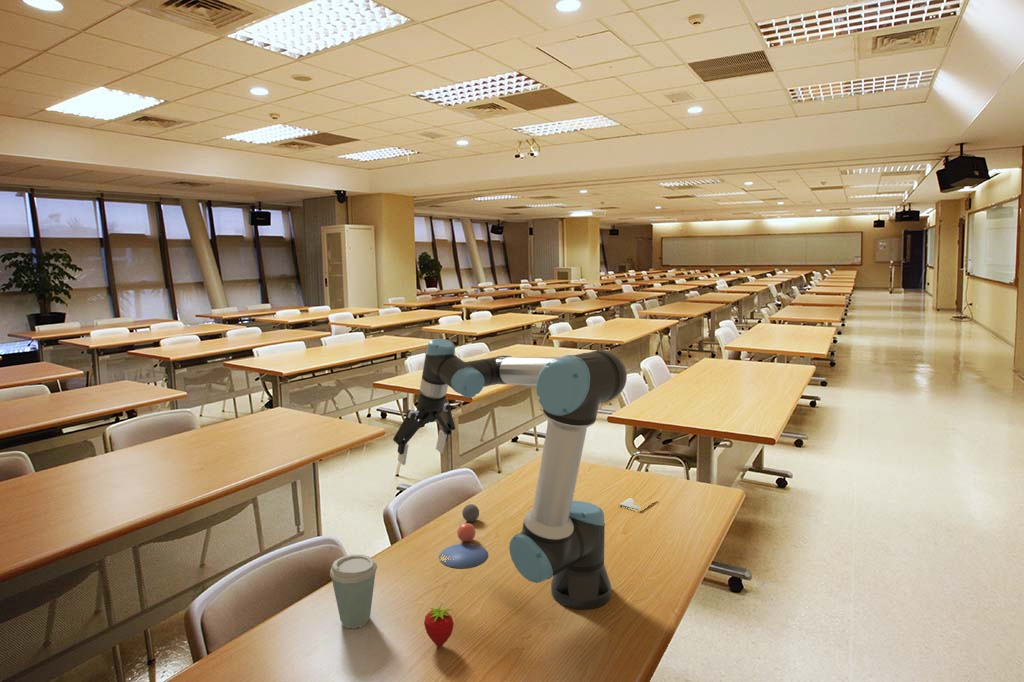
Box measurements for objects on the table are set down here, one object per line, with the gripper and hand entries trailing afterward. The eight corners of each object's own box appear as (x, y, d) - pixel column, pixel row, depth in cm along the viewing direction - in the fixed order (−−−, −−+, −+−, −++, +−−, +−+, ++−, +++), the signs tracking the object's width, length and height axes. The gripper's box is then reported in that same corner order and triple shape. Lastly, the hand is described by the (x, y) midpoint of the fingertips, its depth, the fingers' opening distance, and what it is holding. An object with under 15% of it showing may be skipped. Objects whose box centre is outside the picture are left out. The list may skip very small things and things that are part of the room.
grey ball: (478, 524, 187) (478, 508, 186) (461, 524, 187) (461, 508, 186) (480, 517, 192) (479, 501, 192) (463, 517, 193) (463, 501, 192)
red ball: (474, 545, 173) (474, 527, 172) (456, 545, 173) (456, 527, 172) (476, 536, 179) (476, 519, 178) (458, 536, 179) (458, 519, 178)
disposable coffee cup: (361, 602, 144) (358, 546, 142) (389, 619, 137) (386, 559, 136) (323, 623, 136) (320, 563, 134) (351, 641, 129) (347, 578, 127)
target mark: (486, 568, 160) (486, 567, 160) (435, 568, 160) (435, 567, 160) (489, 544, 174) (489, 543, 174) (442, 544, 174) (442, 543, 174)
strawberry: (441, 632, 132) (440, 591, 131) (460, 649, 126) (459, 606, 125) (419, 643, 128) (417, 601, 127) (437, 660, 123) (435, 616, 121)
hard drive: (639, 510, 194) (657, 498, 203) (618, 503, 199) (636, 492, 208) (639, 515, 194) (657, 503, 203) (618, 508, 199) (636, 497, 209)
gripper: (459, 379, 173) (446, 440, 180) (387, 393, 155) (377, 460, 163) (475, 391, 168) (461, 452, 175) (402, 406, 151) (391, 474, 158)
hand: (421, 456), depth 169 cm, fingers open, 13 cm apart
